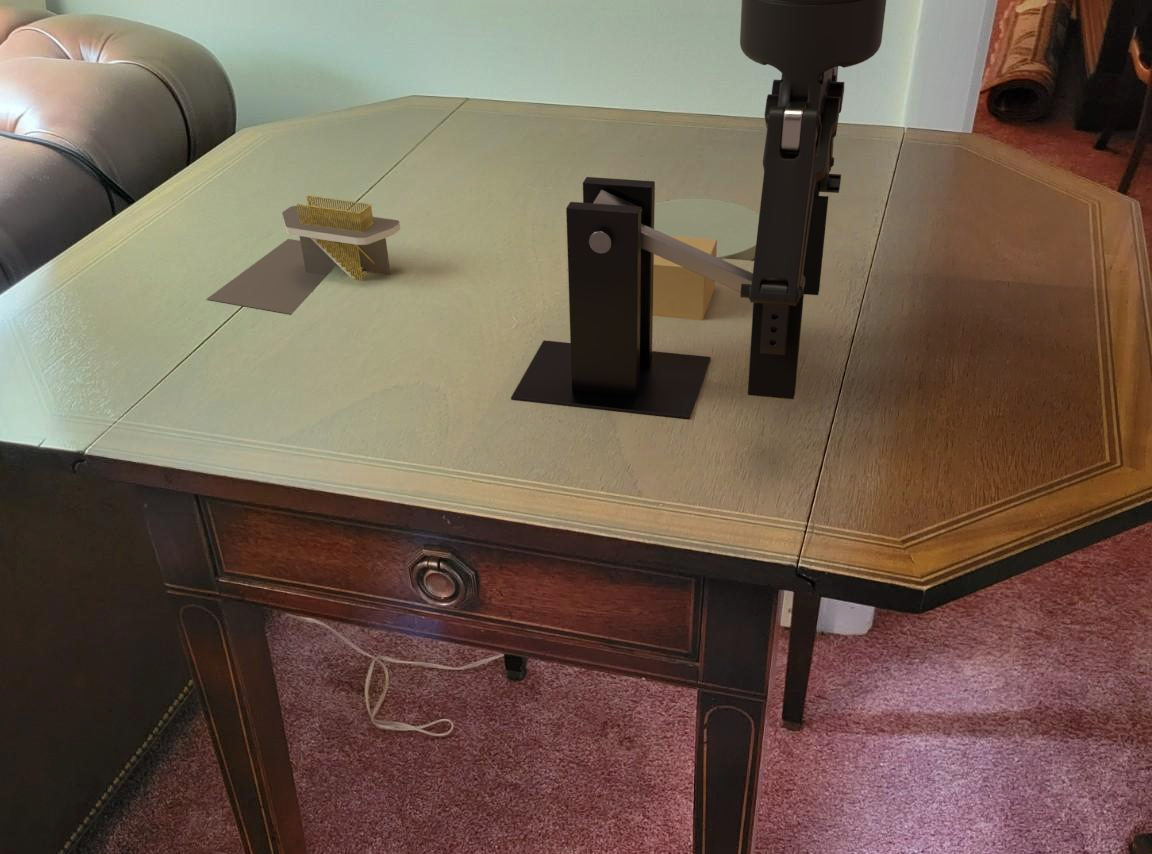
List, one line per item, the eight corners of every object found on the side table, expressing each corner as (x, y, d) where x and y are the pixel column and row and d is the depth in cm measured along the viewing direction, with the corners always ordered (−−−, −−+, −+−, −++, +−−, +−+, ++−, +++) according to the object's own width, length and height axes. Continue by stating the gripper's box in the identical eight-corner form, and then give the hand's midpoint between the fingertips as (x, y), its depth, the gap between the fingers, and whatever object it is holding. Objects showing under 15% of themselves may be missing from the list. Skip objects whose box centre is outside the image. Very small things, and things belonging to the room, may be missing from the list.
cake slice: (714, 301, 93) (717, 239, 89) (702, 332, 89) (705, 268, 86) (649, 296, 94) (650, 233, 90) (635, 326, 90) (636, 262, 87)
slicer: (709, 371, 85) (720, 175, 76) (688, 432, 79) (697, 228, 70) (544, 354, 87) (534, 163, 78) (511, 412, 81) (498, 213, 72)
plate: (775, 217, 104) (776, 203, 103) (755, 278, 95) (756, 264, 94) (638, 207, 107) (638, 193, 106) (606, 266, 98) (606, 252, 97)
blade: (796, 300, 78) (812, 269, 77) (784, 345, 74) (801, 312, 72) (596, 211, 78) (608, 177, 77) (572, 250, 74) (585, 215, 72)
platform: (406, 334, 90) (395, 250, 86) (206, 299, 96) (186, 219, 92) (476, 267, 99) (469, 188, 94) (288, 238, 104) (273, 162, 100)
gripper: (774, -81, 73) (754, 251, 87) (702, 43, 55) (691, 438, 69) (902, -81, 72) (861, 259, 85) (871, 47, 53) (825, 452, 67)
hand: (785, 340), depth 77 cm, fingers open, 13 cm apart
